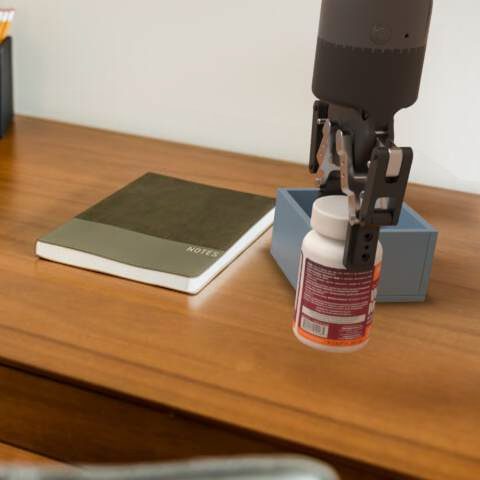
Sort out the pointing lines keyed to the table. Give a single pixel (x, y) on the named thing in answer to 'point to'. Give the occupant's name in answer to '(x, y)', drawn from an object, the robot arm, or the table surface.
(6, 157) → the table surface
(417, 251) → the bin
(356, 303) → the pill bottle
